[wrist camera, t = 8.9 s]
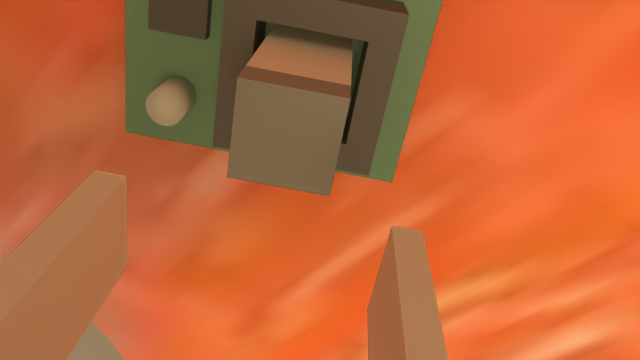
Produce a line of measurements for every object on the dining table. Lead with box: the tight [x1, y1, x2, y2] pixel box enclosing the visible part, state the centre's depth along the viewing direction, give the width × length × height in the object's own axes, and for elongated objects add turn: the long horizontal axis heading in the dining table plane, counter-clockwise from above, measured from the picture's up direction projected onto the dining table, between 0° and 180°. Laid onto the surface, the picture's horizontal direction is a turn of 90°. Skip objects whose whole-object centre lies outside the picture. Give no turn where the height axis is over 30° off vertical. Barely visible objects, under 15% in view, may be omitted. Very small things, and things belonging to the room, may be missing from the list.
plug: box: [227, 24, 353, 196], centre depth 23 cm, size 4×4×10 cm
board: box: [125, 0, 443, 182], centre depth 26 cm, size 16×12×5 cm
